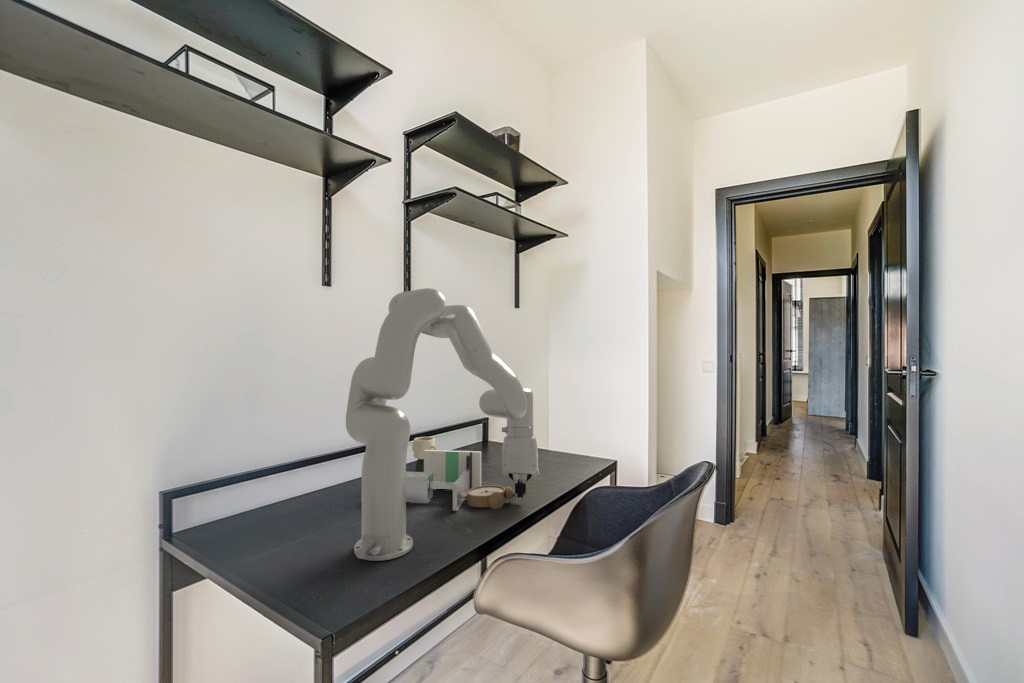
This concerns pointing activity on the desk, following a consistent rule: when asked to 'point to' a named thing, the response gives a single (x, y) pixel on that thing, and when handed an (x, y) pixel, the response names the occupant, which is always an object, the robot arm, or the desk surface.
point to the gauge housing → (418, 487)
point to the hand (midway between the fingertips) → (520, 496)
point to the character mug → (422, 450)
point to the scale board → (453, 465)
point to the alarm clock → (490, 496)
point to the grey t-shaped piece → (456, 486)
